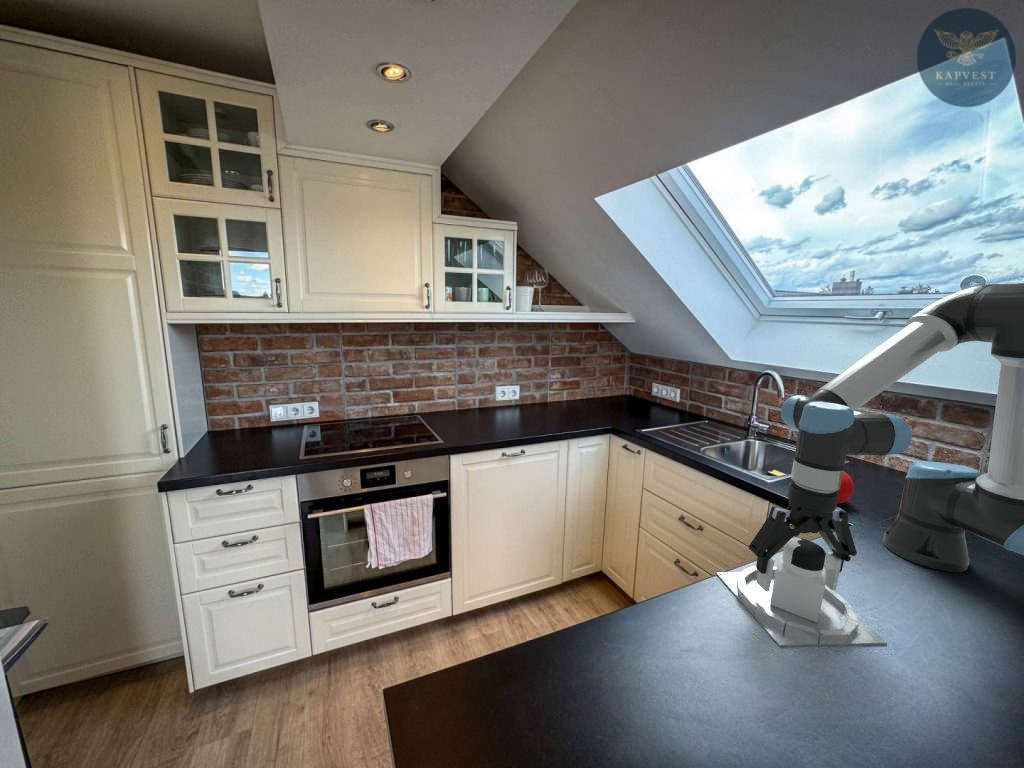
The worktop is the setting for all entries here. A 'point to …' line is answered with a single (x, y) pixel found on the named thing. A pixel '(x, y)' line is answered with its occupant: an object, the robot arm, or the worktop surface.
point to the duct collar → (793, 630)
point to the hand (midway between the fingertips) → (795, 586)
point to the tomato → (845, 488)
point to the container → (800, 579)
